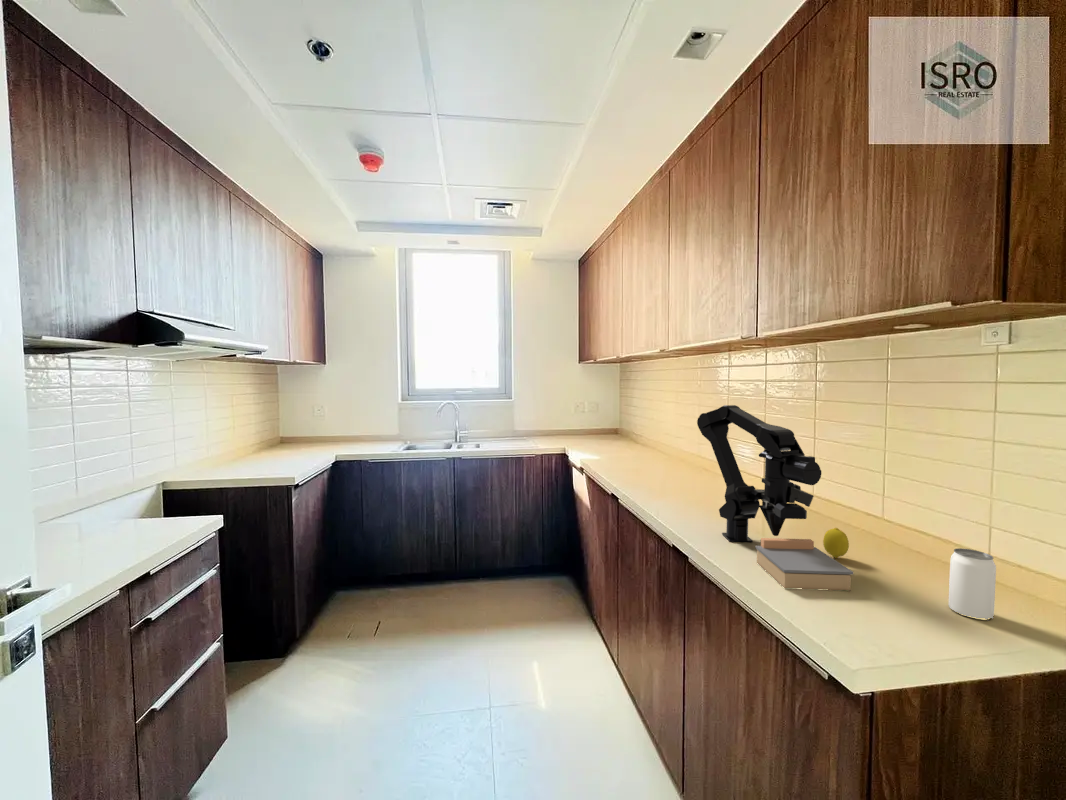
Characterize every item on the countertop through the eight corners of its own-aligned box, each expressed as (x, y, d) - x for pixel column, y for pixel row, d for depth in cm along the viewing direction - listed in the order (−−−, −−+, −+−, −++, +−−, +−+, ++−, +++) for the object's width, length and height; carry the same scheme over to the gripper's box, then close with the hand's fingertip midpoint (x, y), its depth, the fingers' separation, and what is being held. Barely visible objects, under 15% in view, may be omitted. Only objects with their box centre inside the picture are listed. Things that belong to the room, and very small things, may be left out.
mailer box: (756, 563, 113) (757, 549, 113) (814, 564, 112) (814, 551, 112) (784, 588, 99) (784, 573, 99) (850, 591, 98) (850, 575, 98)
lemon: (830, 552, 120) (831, 523, 120) (852, 559, 116) (853, 529, 115) (818, 556, 118) (819, 526, 118) (840, 563, 113) (842, 532, 113)
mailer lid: (755, 547, 113) (755, 537, 113) (815, 549, 112) (815, 539, 112) (784, 572, 99) (784, 560, 99) (853, 574, 98) (853, 562, 98)
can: (1000, 624, 85) (1003, 562, 84) (956, 616, 88) (959, 556, 87) (983, 609, 91) (986, 550, 90) (942, 602, 94) (945, 545, 93)
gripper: (830, 485, 108) (828, 549, 108) (790, 470, 126) (788, 524, 127) (782, 484, 108) (780, 548, 109) (750, 469, 127) (748, 523, 127)
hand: (775, 535), depth 118 cm, fingers closed
